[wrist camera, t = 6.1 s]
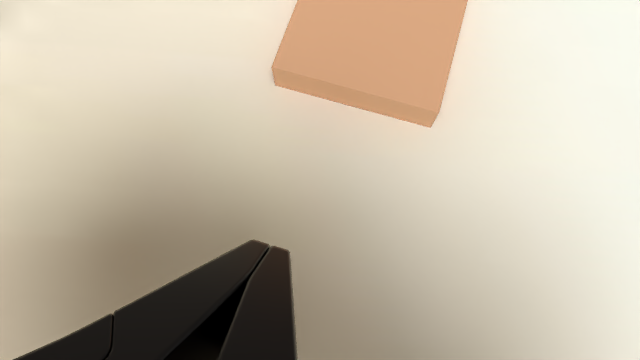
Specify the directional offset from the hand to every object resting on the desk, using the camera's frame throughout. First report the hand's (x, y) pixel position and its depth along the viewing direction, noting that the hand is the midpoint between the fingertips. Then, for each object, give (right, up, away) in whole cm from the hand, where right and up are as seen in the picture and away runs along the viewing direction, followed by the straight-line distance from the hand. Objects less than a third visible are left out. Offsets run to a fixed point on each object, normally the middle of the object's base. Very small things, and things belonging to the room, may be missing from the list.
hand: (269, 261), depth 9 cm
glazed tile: (+2, +5, +9) cm, 11 cm away
